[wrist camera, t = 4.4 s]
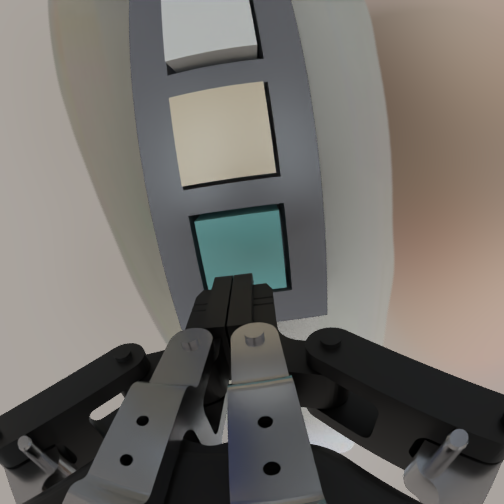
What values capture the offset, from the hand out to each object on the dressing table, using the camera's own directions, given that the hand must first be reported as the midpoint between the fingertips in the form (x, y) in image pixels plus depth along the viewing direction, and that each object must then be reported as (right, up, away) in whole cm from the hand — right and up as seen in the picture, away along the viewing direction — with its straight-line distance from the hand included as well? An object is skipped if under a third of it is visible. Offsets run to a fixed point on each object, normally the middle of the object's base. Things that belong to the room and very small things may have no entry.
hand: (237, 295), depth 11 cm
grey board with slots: (-1, +10, +6) cm, 12 cm away
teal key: (0, +3, +8) cm, 9 cm away
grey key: (-2, +15, +2) cm, 16 cm away
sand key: (-1, +9, +5) cm, 10 cm away
